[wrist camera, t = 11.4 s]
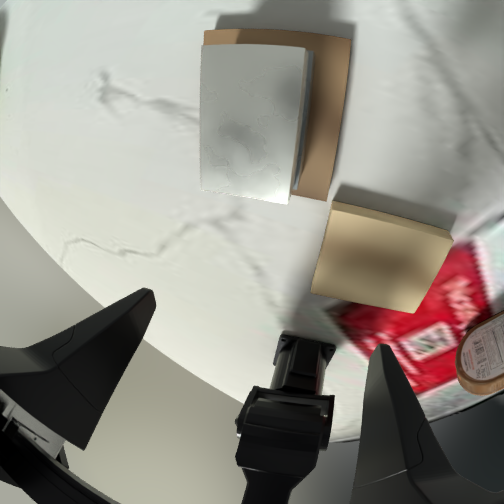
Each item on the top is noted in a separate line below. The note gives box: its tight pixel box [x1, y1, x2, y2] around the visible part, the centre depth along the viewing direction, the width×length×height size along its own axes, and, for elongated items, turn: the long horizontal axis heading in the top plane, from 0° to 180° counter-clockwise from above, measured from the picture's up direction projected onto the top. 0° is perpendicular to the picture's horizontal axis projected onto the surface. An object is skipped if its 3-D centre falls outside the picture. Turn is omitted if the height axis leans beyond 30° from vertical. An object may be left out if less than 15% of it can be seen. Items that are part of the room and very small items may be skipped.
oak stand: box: [311, 201, 454, 313], centre depth 20 cm, size 8×10×2 cm
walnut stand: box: [204, 29, 351, 201], centre depth 16 cm, size 11×9×2 cm
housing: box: [200, 44, 316, 205], centre depth 13 cm, size 5×8×5 cm, turn 177°
